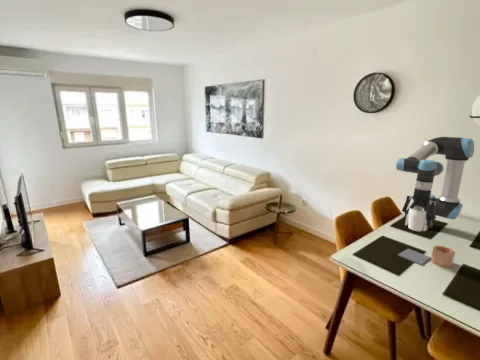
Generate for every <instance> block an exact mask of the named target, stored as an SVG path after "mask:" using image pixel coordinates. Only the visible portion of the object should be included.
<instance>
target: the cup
mask: <svg viewBox="0 0 480 360" xmlns="http://www.w3.org/2000/svg"><path fill="white" fill-rule="evenodd" d="M426 213H427V212H425V211H424V208H423V207H418V206H415V207H414V208H413V209H411V208H410V209H409V214H408V225H407V226H408V229H409V230H412V231H415V232H422V231H423V227H424V223H425V220H426V219H427V218H426Z"/></svg>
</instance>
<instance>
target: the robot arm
mask: <svg viewBox="0 0 480 360" xmlns="http://www.w3.org/2000/svg"><path fill="white" fill-rule="evenodd" d="M420 146H421V147H419V149H417V150H415V152H413V153H412V154H410V155H409V156H408V157H407V158H404V157H402V158H401V157H400V158H398V159H397V160H396V163H395V168H396V170H397V171H401V172H405V173H411V174H417V175H416V180H415V183H414V184H415V185H414V186H415V187H414V191H413V195H407V196H406V201H405V203H404V205H403V206H402V209H401V212H402V213H404V219H405V223H404V226H408V214H409V209H410V208H411V209H413V208H414V207H415V206H418V207H423V208H424V211H425V212H427V213H426V218H427V219H426V220H425V223H424V227H423V230H422V231H423V232H425V231H428V230H430V229H432V228H433V225H434V223H433V221H435V220H436V219H437V217H441V218H445V219H448V220H449V219H450V220H456V219H457V218H458V216H459V215H460V213H461V211H462V209H463V203H461V199H460V198H459V193H460V188H461V183H462V177H463V172H464V167H465V163H466V162H468V161H469V159H470V158H472V157H473V156H474V154H475V141H474V140H473V139H472V138H469V137H459V136H458V137H455V136H452V137H451V136H438V137H434V138H431V139H429V140H427V141H424V143H422V145H420ZM435 155H442V156H445V157H444V160H446V167H445V171H444V165H443V163H441V162H439V161H436V160H432V159H431V160H430V159H428V158H429V157H431V156H435ZM443 172H445V174H444V178H443V184H442V188H441V189H442V190H441V194H440V195H438V197H436V195H435V194H432V189H433V184H434V181H435V180H434V179H435V177H436V176H439V175H441V174H442V173H443ZM411 200H412V203H411ZM410 203H411V205H410ZM409 205H410V206H409ZM436 216H437V217H436Z"/></svg>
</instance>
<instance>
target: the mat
mask: <svg viewBox="0 0 480 360" xmlns="http://www.w3.org/2000/svg"><path fill="white" fill-rule="evenodd" d="M397 256H398V257H401V258H402V259H404V260H408V261H410V262H412V263H415V264H417V265H420V266H423V265H424V264H425V263H427V262H428V261H429V260H431V256H429V255H426V254H423V253H421V252H418V251H415V250H413V249H410V248H407V249H405V250H402V251H401V252H400V253H398V254H397Z"/></svg>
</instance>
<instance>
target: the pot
mask: <svg viewBox="0 0 480 360" xmlns="http://www.w3.org/2000/svg"><path fill="white" fill-rule="evenodd" d="M430 257H431V259H430V260H431V262H432V264H434V265H436V266H439V267H442V268H451V267H452V265H453V264H454V259H455V257H456V251H454V249H452V248H450V247H448V246H445V245H436V244H435V245H434V246H433V248H432V252H431V256H430Z"/></svg>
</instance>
